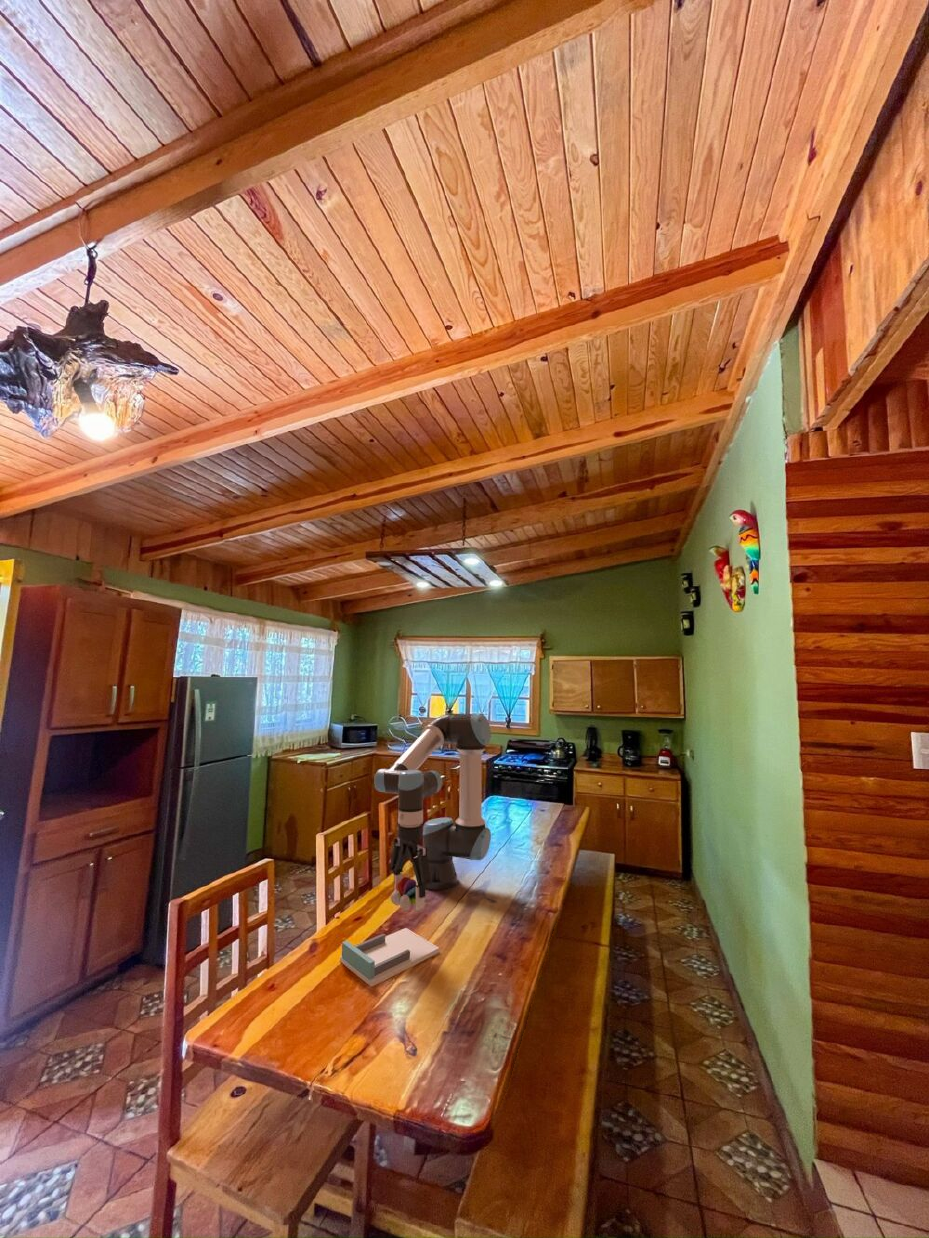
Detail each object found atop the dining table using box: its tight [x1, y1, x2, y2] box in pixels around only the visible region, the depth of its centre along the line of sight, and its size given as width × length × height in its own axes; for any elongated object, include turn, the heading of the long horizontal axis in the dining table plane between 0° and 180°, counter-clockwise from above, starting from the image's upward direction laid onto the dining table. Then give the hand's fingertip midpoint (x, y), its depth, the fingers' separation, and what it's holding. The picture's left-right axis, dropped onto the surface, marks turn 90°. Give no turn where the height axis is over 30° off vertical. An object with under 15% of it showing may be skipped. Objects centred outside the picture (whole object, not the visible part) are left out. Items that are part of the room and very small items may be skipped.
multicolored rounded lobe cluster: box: [390, 876, 427, 911], centre depth 144 cm, size 8×10×7 cm
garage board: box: [339, 927, 440, 988], centre depth 138 cm, size 23×16×5 cm
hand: (409, 902), depth 144 cm, fingers closed on multicolored rounded lobe cluster, 10 cm apart
